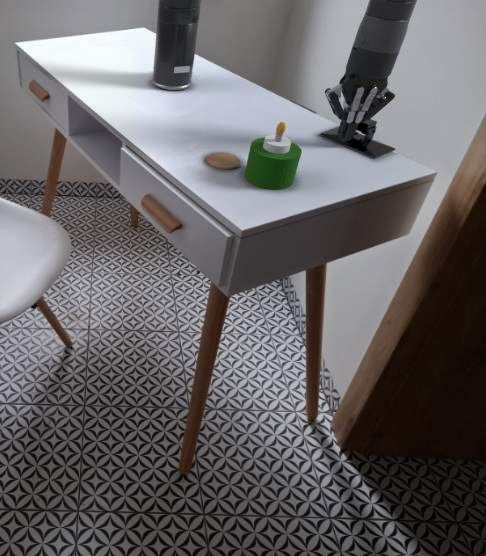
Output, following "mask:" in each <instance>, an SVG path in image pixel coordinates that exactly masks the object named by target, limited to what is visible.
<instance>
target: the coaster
mask: <svg viewBox="0 0 486 556" xmlns="http://www.w3.org/2000/svg"><path fill="white" fill-rule="evenodd" d="M206 162H207V164H208V165H209V166H211V167H213V168H216V169H219V170H234V169H237V168H238V167H240V166H241V159H240V158H239V157H238V156H237V155H235V154H233V153H229V152H225V151H216V152H212V153H210V154H208V155H207V156H206Z"/></svg>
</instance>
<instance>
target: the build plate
mask: <svg viewBox="0 0 486 556" xmlns="http://www.w3.org/2000/svg"><path fill="white" fill-rule="evenodd" d="M377 124H378V121H377V120H374V119H372V118H371V119H369V120H366V119H365V120H362V121H361V122H360V123H359V124H358V127H357V130H356V132H355V135H354V137H353V138H351V140H350V141H341V140H340V139H339V137H338V135H337V132H338V129H339V126H337V127H333V128H331V129H328V130H325V131H323V132H320V133H319V135H320V136H321V137H323V138H326V139H328V140H331V141H333V142H335V143H337V144H340V145H342V146H343V147H346V148H349V149H351V150H354V151H356V152H358V153H361V154H363V155H365V156H368V157H370V158H371V159H378V158H380V157H382V156H385V155H387V154H389V153H392V152H394V151H396V147H393V146H392V145H389V144H386V143H383V142H381V141H378V140H376V139H374V135H375V133H376V132H377V131H376V130H377ZM359 132H360V133H359Z"/></svg>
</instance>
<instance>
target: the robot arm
mask: <svg viewBox="0 0 486 556" xmlns="http://www.w3.org/2000/svg"><path fill="white" fill-rule="evenodd" d="M417 2H418V0H368V3H367V7H366V9H365V13H364V15H363V16H362V18H361V19H362V20H361V21H360V23H359V25H358V28H357V32H356V35H355V38H354V41H353V45H352V46H351V49H350V53H349V57H348V60H347V62H346V65H345V72H344V74H343V76H342V77H341V78H340V79H339V83H338V84H337V85H335V86H334V87H332V88H331V87H328V88H326V89H325V90H324V95H325V97H326V100H327V102H328V105H329V106H330V108H331V111H332V114H333V115H334V116H336V117H337V119H339V120H340V123H339V126H338V127H339V129H338V132H337V135H338V137H339V139H340V140H341V141H350V140H351V138H353V137H354V135H355V132H357V131H358V130H357V127H358V124H359V123H360V122H361V121H362V120H365V119H366V120H369V119H372V118H373V117H375V116H376V115H377V114H378V113H379V112H380V111H381V110H383V109H384V108H385V107H386V106H387V105H388V104H389V103H391V102H392V101H393V100H394V99H395V98H396V94H395V93H394V92H393V91H391V90H390V89H389V88H388V85H389V80H388V79H389V77H390V76H391V75H392V73H393V69H394V67H395V64H396V62H397V59H398V57H399V55H400V52H401V49H402V46H403V43H404V41H405V37H406V36H407V32H408V28H409V24H410V21H411V18H412V16H413V13H414V10H415V7H416V5H417ZM201 5H202V0H158V4H157V16H156V17H157V18H156V19H157V20H156V29H155V31H156V32H155V41H154V42H155V44H154V46H155V47H154V55H153V56H154V57H153V66H152V67H153V68H152V69H153V70H152V77H151V83H152V85H153V86H155V87H156V88H159V89H163V90H168V91H184V90H186V89H189V88H190V87H191V86H192V78H193V72H194V71H193V70H194V64H195V63H194V61H195V54H196V47H197V38H198V30H199V22H200V14H201V7H202V6H201ZM342 97H343V101H342V104H341V101H340V99H341V98H342Z"/></svg>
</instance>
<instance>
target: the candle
mask: <svg viewBox="0 0 486 556" xmlns="http://www.w3.org/2000/svg"><path fill="white" fill-rule="evenodd" d="M286 129H287V126H286V123H285V122H284V121H280V122H279V123H278V124H277V126H276V128H275V134H270V135H266V136H265V137H257V138H256V139H254V140H252V141H251V143H250V147H249V152H248V157H247V161H246V165H245V169H244V170H245V171H244V178H245V180H247V182H249V183H250V184H252V185H254V186H256V187H258V188H262V189H265V190H274V191H275V190H276V191H277V190H284V189H288V188H290V187H292V186H293V184H294V181H295V177H296V174H297V170H298V167H299V163H300V160H301V157H302V148H301V147H300V146H299V145H298V144H296V143H295V142H293V141H292V140H291V139H289V138H288V137H286V136H284V134H285V132H286Z"/></svg>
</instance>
